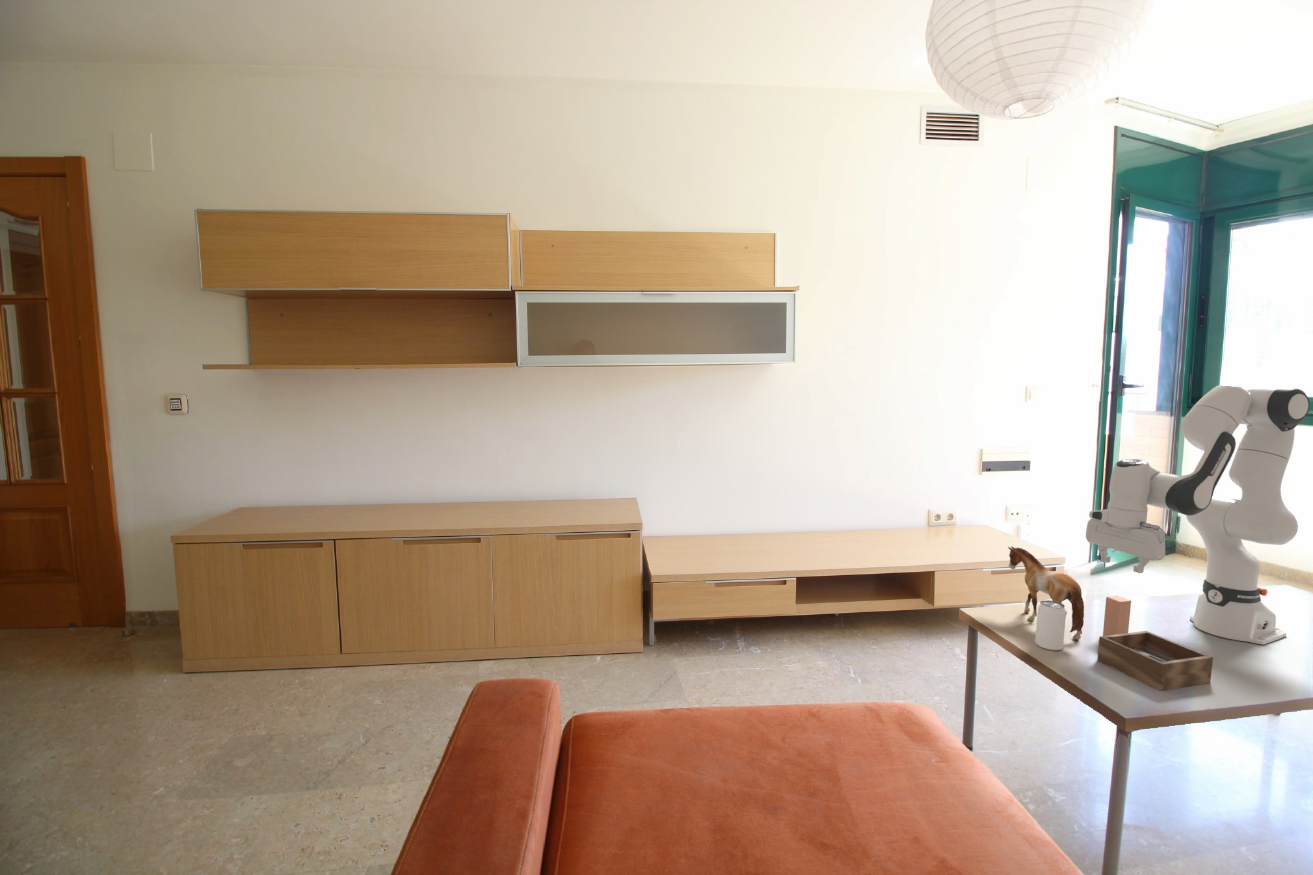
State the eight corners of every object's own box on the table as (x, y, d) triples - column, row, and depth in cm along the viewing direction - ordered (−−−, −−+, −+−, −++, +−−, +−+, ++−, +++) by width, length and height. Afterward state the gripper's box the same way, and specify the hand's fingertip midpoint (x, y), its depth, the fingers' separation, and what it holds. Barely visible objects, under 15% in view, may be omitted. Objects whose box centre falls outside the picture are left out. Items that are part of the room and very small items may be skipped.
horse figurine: (1001, 607, 200) (1006, 544, 198) (1024, 607, 201) (1029, 544, 199) (1073, 650, 170) (1080, 576, 167) (1100, 650, 170) (1107, 576, 168)
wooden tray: (1144, 654, 168) (1146, 630, 167) (1210, 682, 153) (1213, 657, 152) (1097, 660, 164) (1099, 636, 163) (1160, 690, 149) (1163, 664, 148)
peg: (1113, 636, 179) (1117, 595, 178) (1127, 642, 176) (1131, 600, 174) (1102, 637, 178) (1106, 596, 177) (1116, 643, 175) (1120, 601, 173)
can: (1067, 652, 168) (1070, 609, 167) (1040, 649, 170) (1044, 607, 168) (1056, 642, 175) (1060, 600, 174) (1031, 640, 176) (1034, 598, 175)
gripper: (1174, 526, 164) (1168, 578, 166) (1101, 509, 184) (1096, 556, 185) (1156, 527, 163) (1150, 579, 164) (1084, 510, 182) (1079, 557, 184)
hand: (1121, 566), depth 175 cm, fingers open, 8 cm apart
